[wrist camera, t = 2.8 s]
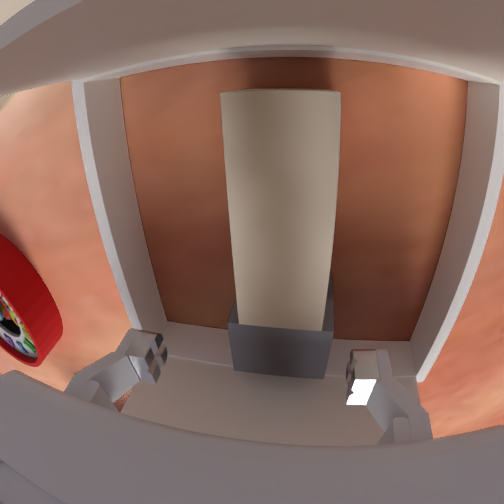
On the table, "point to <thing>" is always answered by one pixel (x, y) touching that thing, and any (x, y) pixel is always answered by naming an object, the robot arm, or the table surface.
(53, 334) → the toy clock
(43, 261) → the table surface
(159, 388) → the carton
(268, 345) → the block
